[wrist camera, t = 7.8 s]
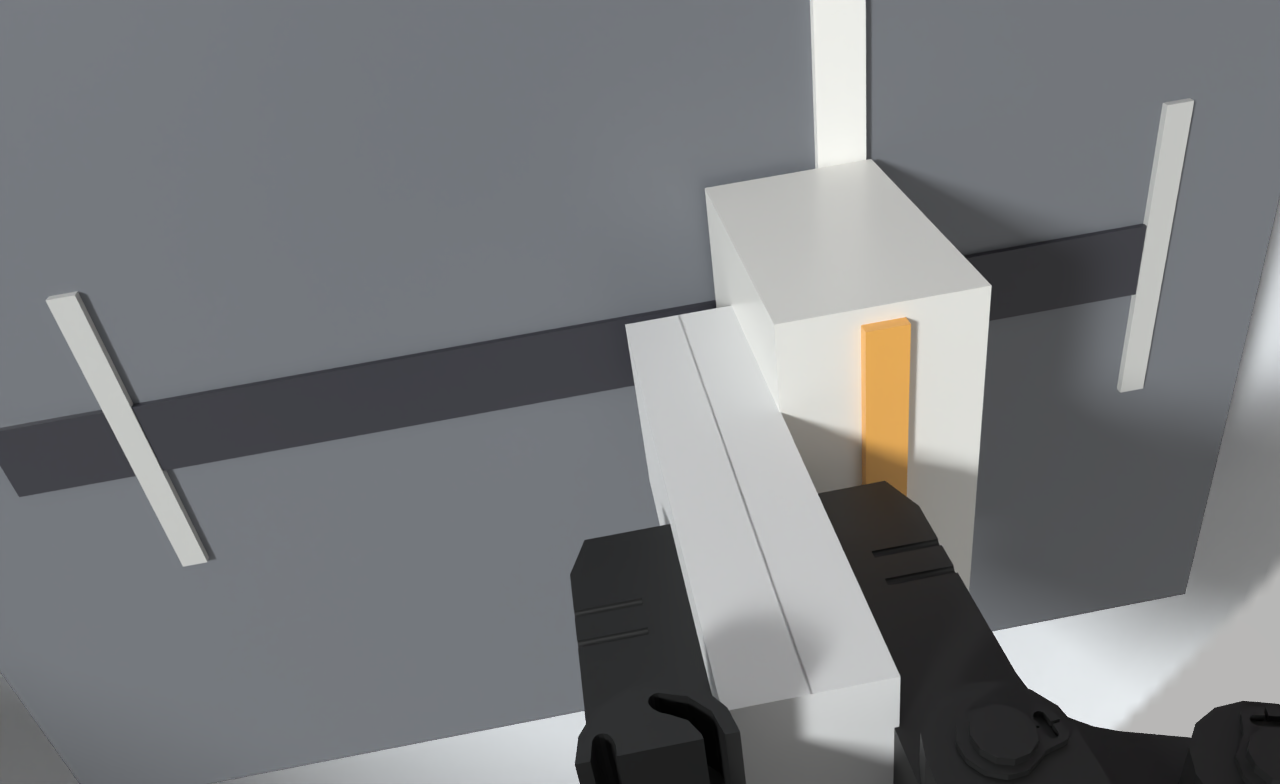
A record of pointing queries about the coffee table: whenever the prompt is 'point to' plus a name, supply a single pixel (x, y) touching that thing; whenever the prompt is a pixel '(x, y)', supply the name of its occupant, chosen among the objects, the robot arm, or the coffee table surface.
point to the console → (546, 323)
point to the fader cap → (861, 333)
